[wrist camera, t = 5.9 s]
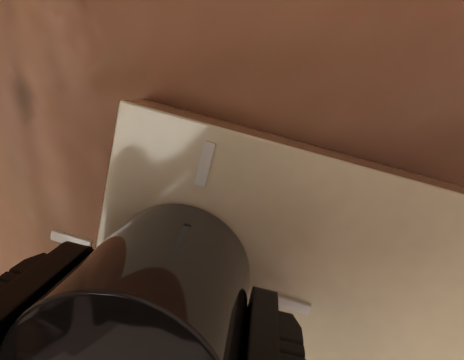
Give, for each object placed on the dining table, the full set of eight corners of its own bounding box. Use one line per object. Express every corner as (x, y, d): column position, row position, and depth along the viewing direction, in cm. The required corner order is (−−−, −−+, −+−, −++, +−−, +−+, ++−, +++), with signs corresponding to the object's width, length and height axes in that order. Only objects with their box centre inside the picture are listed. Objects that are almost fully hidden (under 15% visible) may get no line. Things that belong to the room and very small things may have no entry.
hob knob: (102, 313, 12) (-21, 474, 7) (119, 187, 11) (-18, 270, 6) (233, 347, 12) (206, 540, 7) (265, 222, 11) (261, 342, 5)
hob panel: (68, 316, 15) (36, 353, 13) (103, 87, 12) (68, 86, 10) (417, 422, 14) (442, 479, 12) (533, 205, 12) (591, 229, 9)
